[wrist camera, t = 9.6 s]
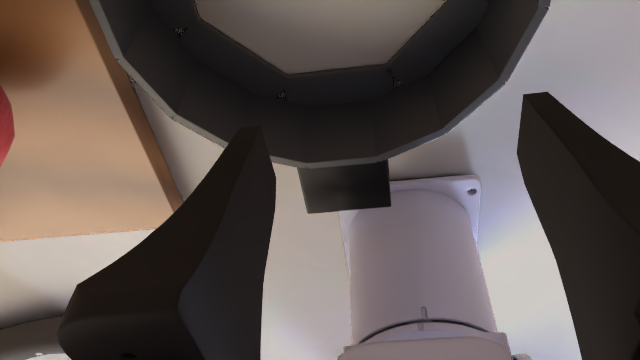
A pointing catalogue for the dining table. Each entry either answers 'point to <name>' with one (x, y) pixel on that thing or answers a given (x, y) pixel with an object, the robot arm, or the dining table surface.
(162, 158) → the cutting board
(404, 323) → the robot arm
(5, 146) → the onion
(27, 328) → the kitchen knife
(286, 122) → the cooking pot
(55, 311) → the dining table surface
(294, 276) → the dining table surface
